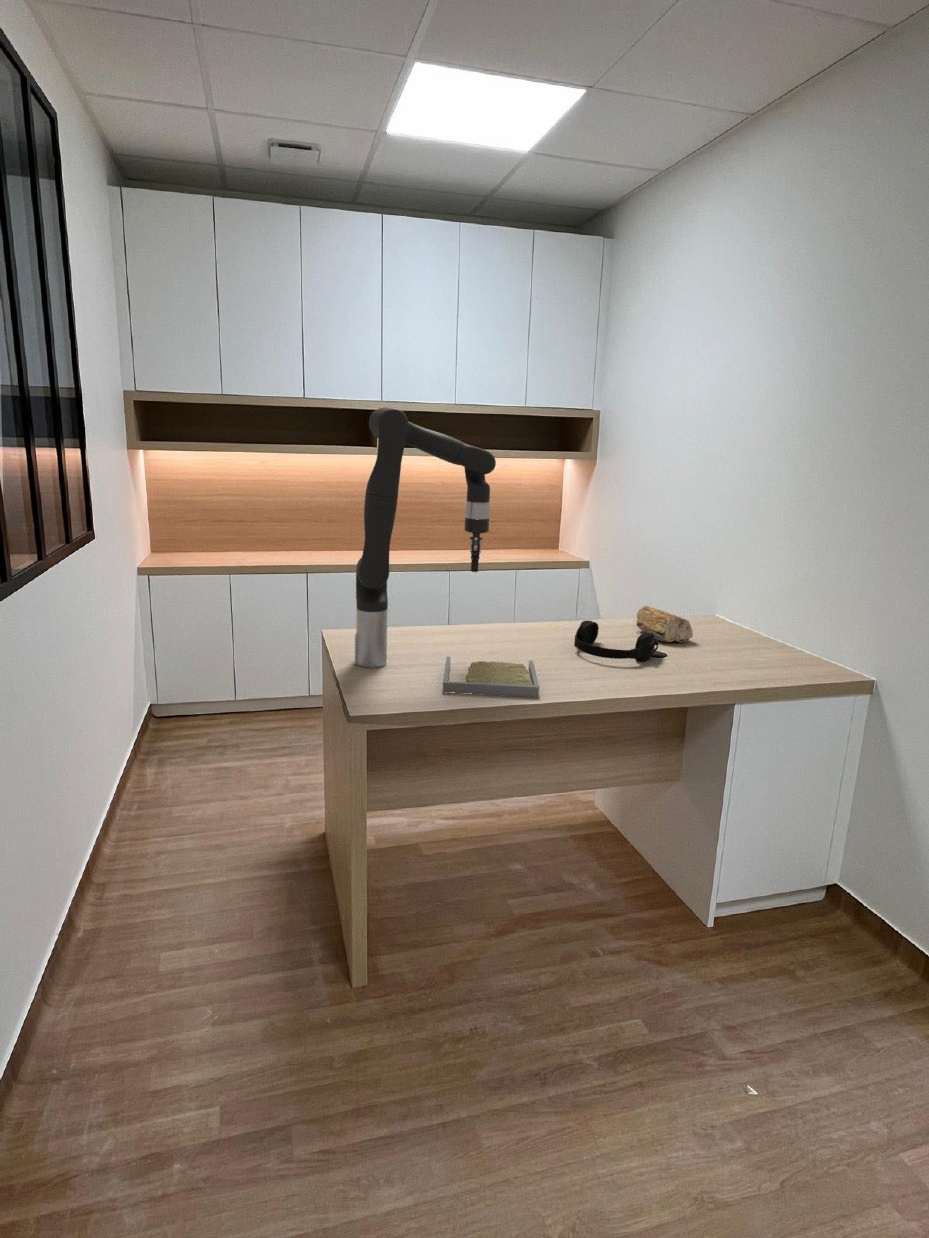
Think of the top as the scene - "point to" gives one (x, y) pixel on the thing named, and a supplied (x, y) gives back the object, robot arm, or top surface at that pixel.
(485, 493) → the robot arm
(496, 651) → the top surface
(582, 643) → the headset
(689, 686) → the top surface
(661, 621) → the petrified wood
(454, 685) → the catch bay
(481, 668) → the decorative tile
